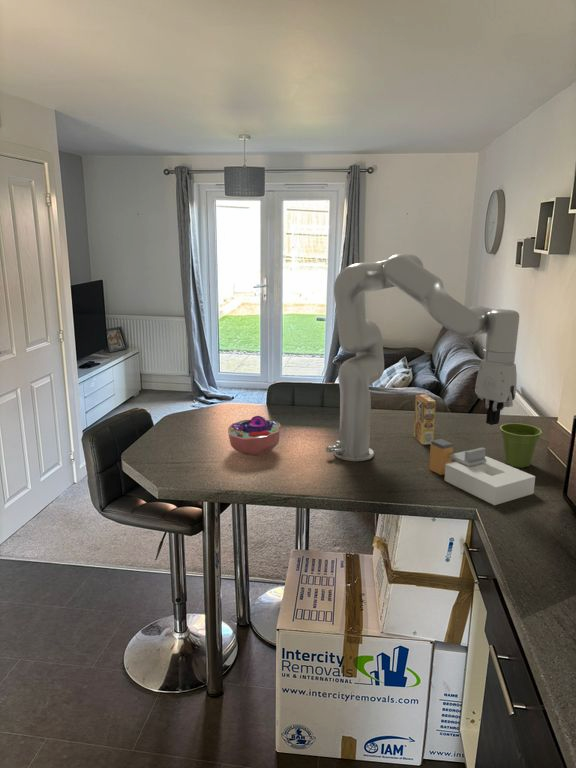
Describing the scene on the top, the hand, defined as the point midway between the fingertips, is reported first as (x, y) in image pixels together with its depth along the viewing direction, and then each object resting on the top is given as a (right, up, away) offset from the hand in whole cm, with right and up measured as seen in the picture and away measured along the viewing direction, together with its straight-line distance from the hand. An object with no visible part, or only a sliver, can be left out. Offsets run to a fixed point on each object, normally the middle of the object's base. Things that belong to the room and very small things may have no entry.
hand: (492, 423), depth 153 cm
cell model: (-66, -12, +30) cm, 73 cm away
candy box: (-9, -9, +41) cm, 43 cm away
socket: (0, -18, +4) cm, 18 cm away
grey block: (-4, -11, +10) cm, 15 cm away
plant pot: (+15, -14, +21) cm, 30 cm away
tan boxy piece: (-10, -15, +15) cm, 24 cm away
